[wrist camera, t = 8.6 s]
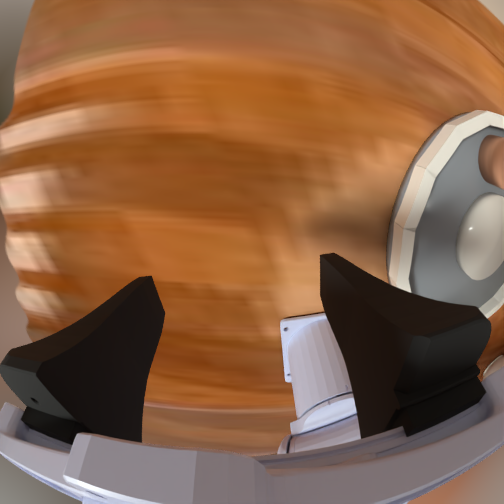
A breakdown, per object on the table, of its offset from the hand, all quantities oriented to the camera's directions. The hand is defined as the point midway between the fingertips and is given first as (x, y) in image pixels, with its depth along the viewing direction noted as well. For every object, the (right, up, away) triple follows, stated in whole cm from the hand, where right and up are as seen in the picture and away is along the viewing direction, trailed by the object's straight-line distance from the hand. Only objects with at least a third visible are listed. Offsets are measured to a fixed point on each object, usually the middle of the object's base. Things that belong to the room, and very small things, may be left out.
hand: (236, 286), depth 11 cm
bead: (+23, +10, +5) cm, 26 cm away
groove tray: (+24, +4, +9) cm, 26 cm away
